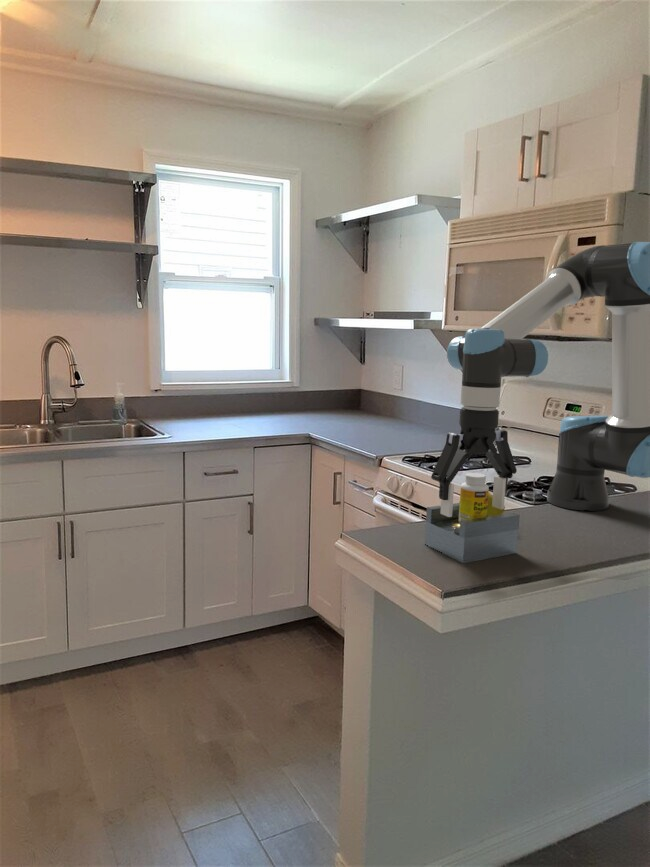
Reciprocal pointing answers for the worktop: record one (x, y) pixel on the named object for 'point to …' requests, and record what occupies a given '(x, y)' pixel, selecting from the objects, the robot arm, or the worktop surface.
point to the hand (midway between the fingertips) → (472, 511)
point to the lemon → (493, 510)
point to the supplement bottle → (473, 497)
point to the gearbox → (471, 535)
